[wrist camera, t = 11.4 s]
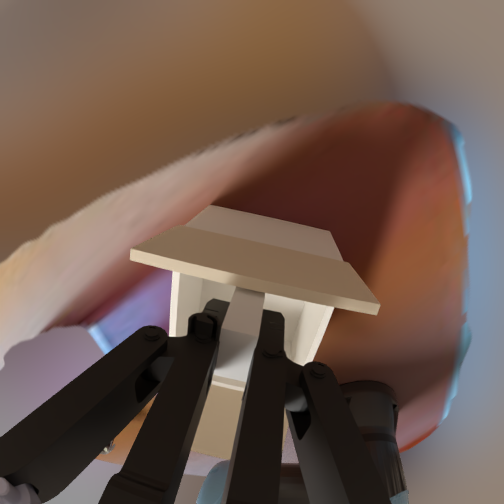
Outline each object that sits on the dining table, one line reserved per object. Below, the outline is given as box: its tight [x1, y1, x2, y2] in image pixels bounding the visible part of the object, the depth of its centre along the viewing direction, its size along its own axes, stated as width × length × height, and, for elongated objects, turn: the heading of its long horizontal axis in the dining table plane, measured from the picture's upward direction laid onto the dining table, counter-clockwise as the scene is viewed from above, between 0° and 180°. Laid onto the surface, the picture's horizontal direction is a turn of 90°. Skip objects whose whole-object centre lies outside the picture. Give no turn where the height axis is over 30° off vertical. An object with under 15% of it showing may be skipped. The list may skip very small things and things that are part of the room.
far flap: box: [190, 384, 289, 460], centre depth 25 cm, size 13×8×1 cm
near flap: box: [130, 225, 381, 315], centre depth 17 cm, size 13×8×1 cm
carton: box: [169, 205, 343, 392], centre depth 28 cm, size 13×15×10 cm
